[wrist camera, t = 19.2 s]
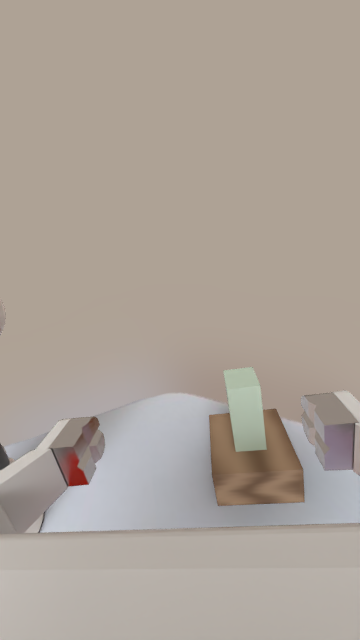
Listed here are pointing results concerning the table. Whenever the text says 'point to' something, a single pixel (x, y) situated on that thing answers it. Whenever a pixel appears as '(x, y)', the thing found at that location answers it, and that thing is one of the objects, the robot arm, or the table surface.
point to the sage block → (245, 409)
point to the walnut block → (255, 465)
